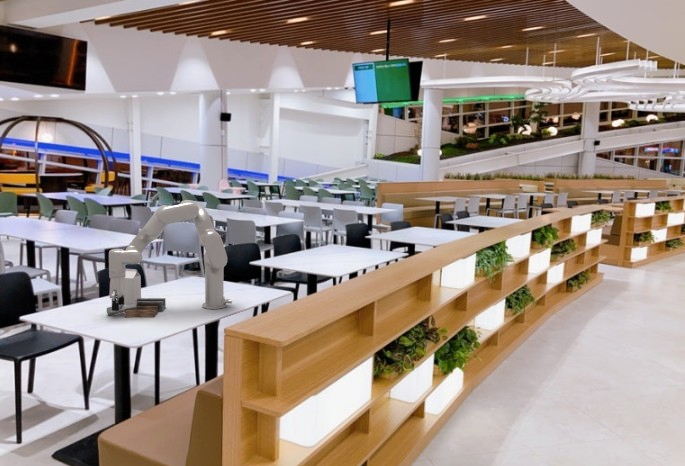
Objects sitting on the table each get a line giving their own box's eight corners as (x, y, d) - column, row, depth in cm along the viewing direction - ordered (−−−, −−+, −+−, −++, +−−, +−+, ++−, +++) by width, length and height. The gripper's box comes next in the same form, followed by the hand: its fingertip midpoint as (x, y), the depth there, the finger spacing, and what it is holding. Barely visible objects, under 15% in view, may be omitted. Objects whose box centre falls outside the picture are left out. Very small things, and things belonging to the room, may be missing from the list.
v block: (165, 307, 304) (165, 298, 304) (162, 311, 297) (162, 302, 296) (138, 307, 303) (137, 298, 302) (134, 311, 295) (134, 302, 294)
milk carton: (134, 306, 305) (133, 270, 302) (121, 305, 307) (120, 270, 304) (141, 302, 312) (140, 268, 309) (129, 301, 313) (128, 267, 311)
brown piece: (157, 312, 294) (157, 306, 294) (154, 317, 287) (154, 310, 286) (129, 313, 293) (129, 306, 292) (125, 317, 285) (124, 310, 285)
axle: (138, 307, 291) (136, 300, 291) (136, 309, 287) (134, 302, 287) (110, 314, 290) (108, 306, 289) (108, 316, 286) (105, 308, 285)
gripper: (114, 270, 294) (115, 303, 296) (104, 278, 277) (105, 312, 279) (129, 270, 294) (130, 303, 297) (120, 278, 277) (121, 312, 280)
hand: (118, 307), depth 288 cm, fingers open, 9 cm apart
